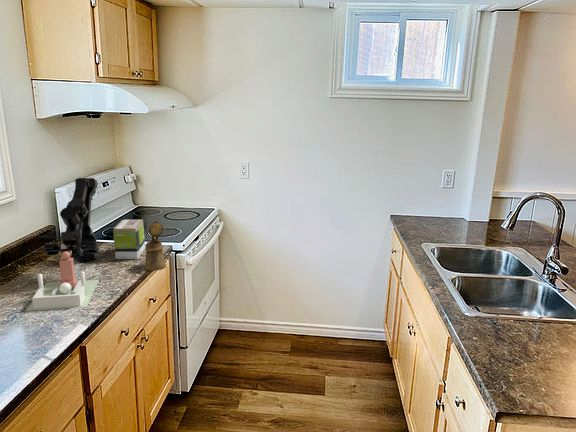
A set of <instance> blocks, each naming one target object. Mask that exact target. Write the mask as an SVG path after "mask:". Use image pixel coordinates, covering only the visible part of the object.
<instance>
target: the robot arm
mask: <svg viewBox="0 0 576 432" xmlns="http://www.w3.org/2000/svg"><path fill="white" fill-rule="evenodd" d="M74 186H75V188H74V190H73V191H74V192H73V196H72V199H70V201H68V202H67V205H66V207H64V208H62V209H61V211H60V212H59V216H60V218H61V219H62V222H63V224H64V225H65V226H66V227H65V231H62V232H61V231H60V241H61V243H62V244H61V245H57V243H56V242H47V243H45V244H44V245H43V249H42V250H43V251H44V253H45V255H46V256H49V257H51V256H57V255H58V254H60V255H61V254H62V253H63V252H65V251H67V252H69V253H70V258H73V262H74V265H75V263H76V262H77V261H78V262H80V263H83V264H85V263H88V262H91V261H95V260H97V259H98V257H96V256H95V254H99V253H100V248H99V244H98V241H97V238H96V236H95V234H94V231H93V229H92V228H91V210H92V198H93V197H94V196H95V194H96V193H97V188H98V180H97V179H95V178H94V177H77V178H75V180H74Z"/></svg>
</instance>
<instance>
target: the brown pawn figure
mask: <svg viewBox="0 0 576 432" xmlns="http://www.w3.org/2000/svg"><path fill="white" fill-rule="evenodd" d="M163 232H164V226H163V224H162V223H160V222H159V221H154V222H153V223H151V224H150V225H149V227H148V234H149V235H150V236H151V240H149V241H146V244H145V260H144V261H145V263H144V269H145V270H147V271H151V272H152V271H153V272H154V271H161V270H164V269H166V268H167V264H166V263H167V262H166V261H165V255H164V249H163V248H164V247H163V243H162V241H160V240H159V236H161V235H162V234H163Z"/></svg>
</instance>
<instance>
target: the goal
mask: <svg viewBox="0 0 576 432" xmlns="http://www.w3.org/2000/svg"><path fill="white" fill-rule="evenodd" d="M85 273H86V272H85V271H80V274H79V275H80V280H81V289H80V290H79V292H78V294H71V295H55V296H45V295H44V287H43V286H44V280H43V278H44V277H43V274H42V273H37V283H38V290H37V291H36V293H35V294H34V295H33V297H32V298H31V299H32V301H33V308H34V309H42V308H56V307H70V306H81V304H82V302H83V300H84V298H85V296H86V295H87V294H86V284H85V280H86V276H85Z"/></svg>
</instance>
